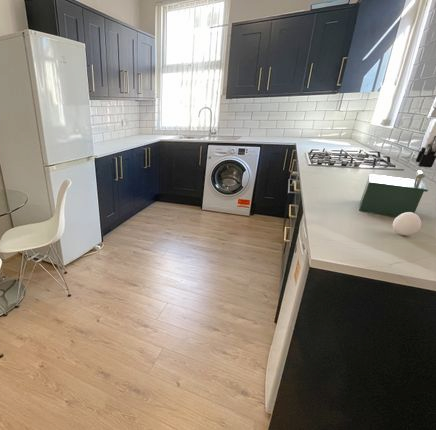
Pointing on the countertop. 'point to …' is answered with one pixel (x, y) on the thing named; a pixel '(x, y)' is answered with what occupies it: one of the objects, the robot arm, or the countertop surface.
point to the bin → (389, 200)
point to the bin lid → (400, 181)
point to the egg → (407, 223)
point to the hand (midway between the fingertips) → (422, 164)
